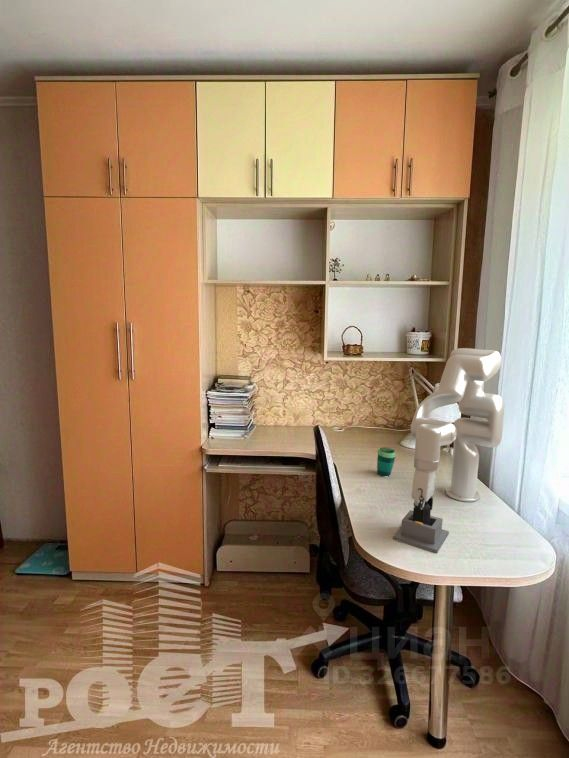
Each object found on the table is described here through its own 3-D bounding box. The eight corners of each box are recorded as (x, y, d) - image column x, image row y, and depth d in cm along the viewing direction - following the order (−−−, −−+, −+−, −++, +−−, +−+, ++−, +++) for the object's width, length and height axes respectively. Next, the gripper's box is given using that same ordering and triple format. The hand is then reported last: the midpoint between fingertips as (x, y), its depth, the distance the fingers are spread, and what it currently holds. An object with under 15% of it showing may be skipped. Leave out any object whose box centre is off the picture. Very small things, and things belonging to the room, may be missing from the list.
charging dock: (406, 521, 151) (408, 504, 150) (448, 534, 143) (450, 515, 142) (392, 539, 139) (393, 520, 138) (437, 553, 131) (438, 533, 130)
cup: (388, 471, 198) (390, 445, 196) (398, 477, 190) (400, 451, 189) (372, 472, 196) (374, 447, 194) (382, 479, 188) (383, 453, 186)
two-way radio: (426, 529, 143) (430, 487, 140) (432, 537, 139) (436, 493, 136) (410, 530, 142) (413, 488, 139) (415, 538, 138) (419, 494, 135)
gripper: (422, 453, 146) (419, 501, 149) (405, 468, 132) (402, 521, 135) (445, 458, 142) (441, 507, 145) (430, 474, 128) (426, 528, 131)
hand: (422, 514), depth 140 cm, fingers open, 9 cm apart
